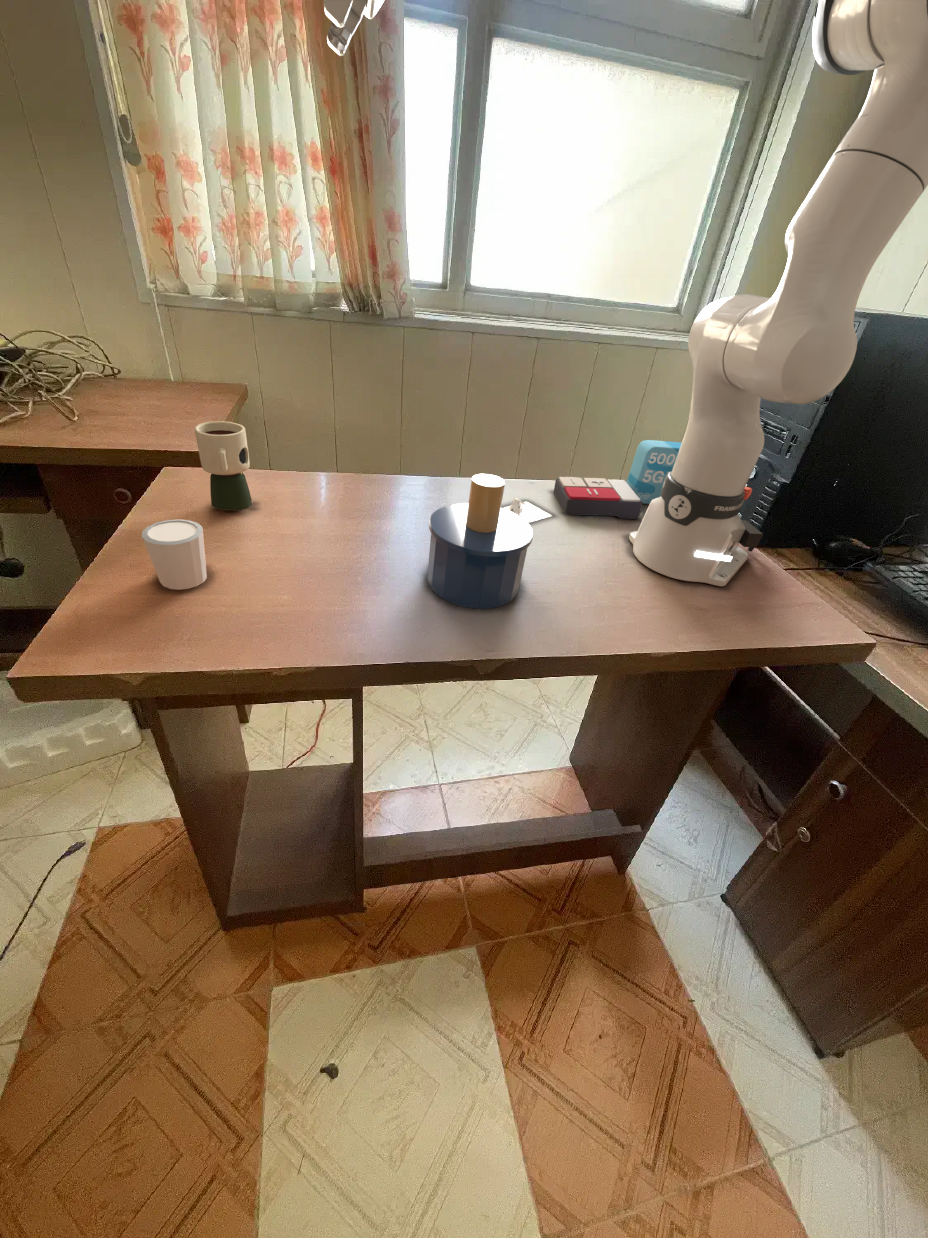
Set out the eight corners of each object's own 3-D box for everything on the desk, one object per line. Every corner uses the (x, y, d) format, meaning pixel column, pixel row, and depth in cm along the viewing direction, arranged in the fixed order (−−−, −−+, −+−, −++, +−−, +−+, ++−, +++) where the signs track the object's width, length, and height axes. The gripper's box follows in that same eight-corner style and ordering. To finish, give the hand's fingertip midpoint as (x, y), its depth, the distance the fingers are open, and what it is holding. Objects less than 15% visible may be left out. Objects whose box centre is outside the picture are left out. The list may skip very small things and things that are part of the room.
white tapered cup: (159, 597, 66) (145, 548, 61) (150, 570, 70) (137, 523, 66) (217, 585, 69) (208, 538, 65) (205, 560, 73) (196, 515, 69)
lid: (484, 504, 81) (492, 454, 76) (552, 545, 72) (565, 491, 68) (407, 523, 72) (411, 468, 68) (474, 571, 64) (483, 512, 60)
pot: (477, 551, 85) (485, 503, 80) (536, 591, 77) (548, 540, 72) (409, 572, 77) (413, 520, 72) (467, 619, 69) (475, 564, 64)
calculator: (556, 474, 107) (626, 477, 109) (552, 494, 110) (621, 496, 111) (568, 496, 98) (644, 498, 100) (564, 517, 101) (638, 519, 102)
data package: (630, 503, 109) (648, 446, 102) (622, 494, 113) (639, 438, 106) (682, 506, 111) (703, 450, 104) (672, 497, 115) (693, 442, 108)
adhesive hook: (506, 512, 98) (509, 496, 96) (516, 509, 100) (519, 494, 98) (517, 518, 97) (520, 503, 95) (527, 516, 98) (530, 500, 96)
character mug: (256, 520, 84) (245, 440, 77) (207, 522, 82) (191, 439, 74) (254, 492, 92) (245, 417, 85) (210, 493, 90) (196, 416, 82)
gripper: (470, -218, 34) (368, 32, 40) (430, -77, 50) (362, 87, 56) (385, -335, 31) (289, -46, 37) (372, -145, 47) (306, 35, 53)
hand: (333, 34), depth 47 cm, fingers open, 8 cm apart
